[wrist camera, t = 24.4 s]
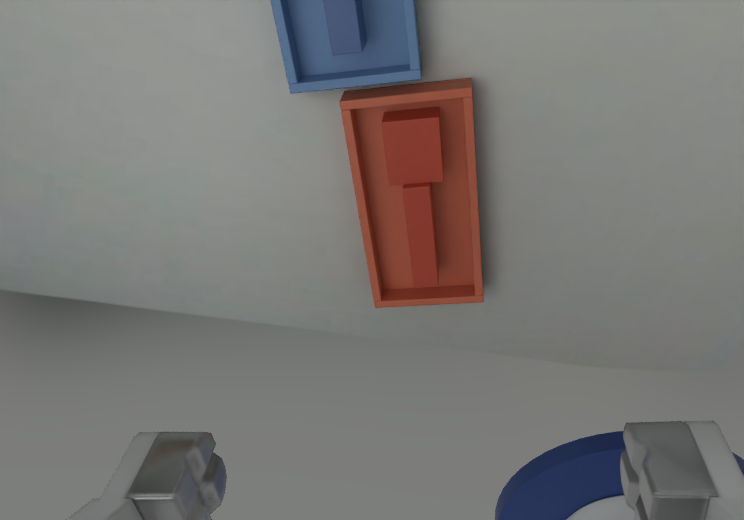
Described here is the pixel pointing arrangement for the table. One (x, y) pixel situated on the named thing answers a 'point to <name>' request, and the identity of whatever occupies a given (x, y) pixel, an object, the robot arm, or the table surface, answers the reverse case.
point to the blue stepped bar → (345, 26)
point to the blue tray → (372, 66)
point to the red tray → (386, 203)
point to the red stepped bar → (416, 181)
